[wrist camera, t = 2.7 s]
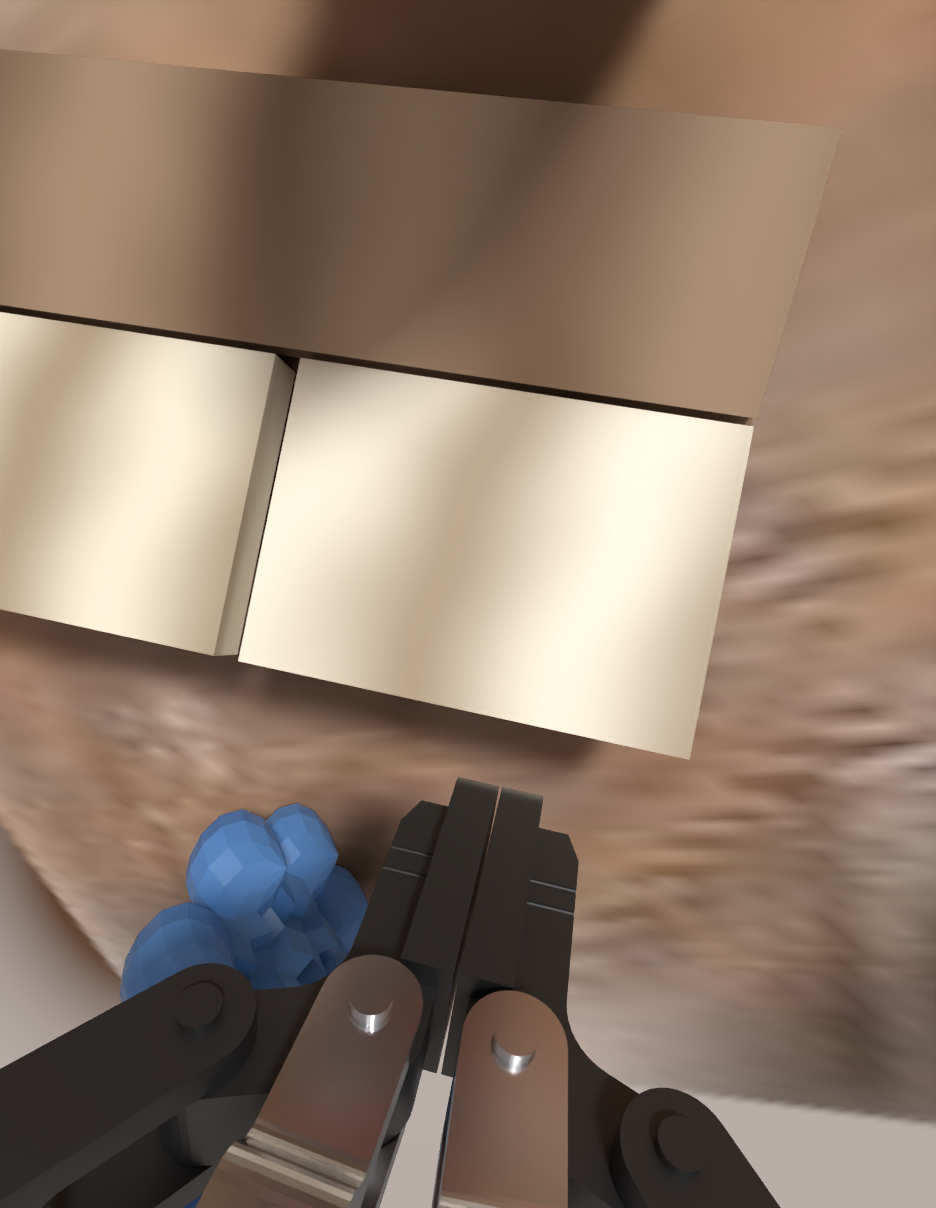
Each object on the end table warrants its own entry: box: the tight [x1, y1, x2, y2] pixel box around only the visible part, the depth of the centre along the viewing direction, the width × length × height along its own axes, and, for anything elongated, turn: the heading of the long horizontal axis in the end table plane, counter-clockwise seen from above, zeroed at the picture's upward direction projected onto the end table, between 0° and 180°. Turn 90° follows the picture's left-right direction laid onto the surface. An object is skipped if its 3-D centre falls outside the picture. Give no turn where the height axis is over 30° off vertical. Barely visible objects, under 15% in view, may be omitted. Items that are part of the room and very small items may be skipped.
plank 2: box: [238, 358, 754, 760], centre depth 16 cm, size 10×7×1 cm
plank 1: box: [0, 312, 295, 656], centre depth 18 cm, size 10×7×1 cm
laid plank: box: [0, 49, 843, 426], centre depth 16 cm, size 21×5×1 cm, turn 83°
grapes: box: [120, 803, 368, 1208], centre depth 20 cm, size 12×7×12 cm, turn 16°
